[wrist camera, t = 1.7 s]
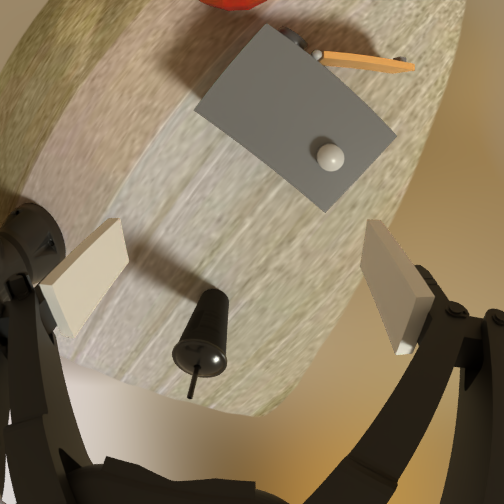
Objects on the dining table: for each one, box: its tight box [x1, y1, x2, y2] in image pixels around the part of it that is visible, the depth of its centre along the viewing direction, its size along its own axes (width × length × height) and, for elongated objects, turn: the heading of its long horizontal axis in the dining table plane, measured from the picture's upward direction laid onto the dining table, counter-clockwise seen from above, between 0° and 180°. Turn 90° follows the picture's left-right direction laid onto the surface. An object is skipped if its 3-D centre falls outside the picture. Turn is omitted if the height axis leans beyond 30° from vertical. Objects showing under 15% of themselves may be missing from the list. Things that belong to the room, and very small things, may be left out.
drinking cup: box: [172, 289, 229, 399], centre depth 43 cm, size 8×8×20 cm
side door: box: [311, 50, 415, 74], centre depth 28 cm, size 12×2×7 cm, turn 92°
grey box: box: [194, 23, 397, 213], centre depth 32 cm, size 18×14×10 cm
